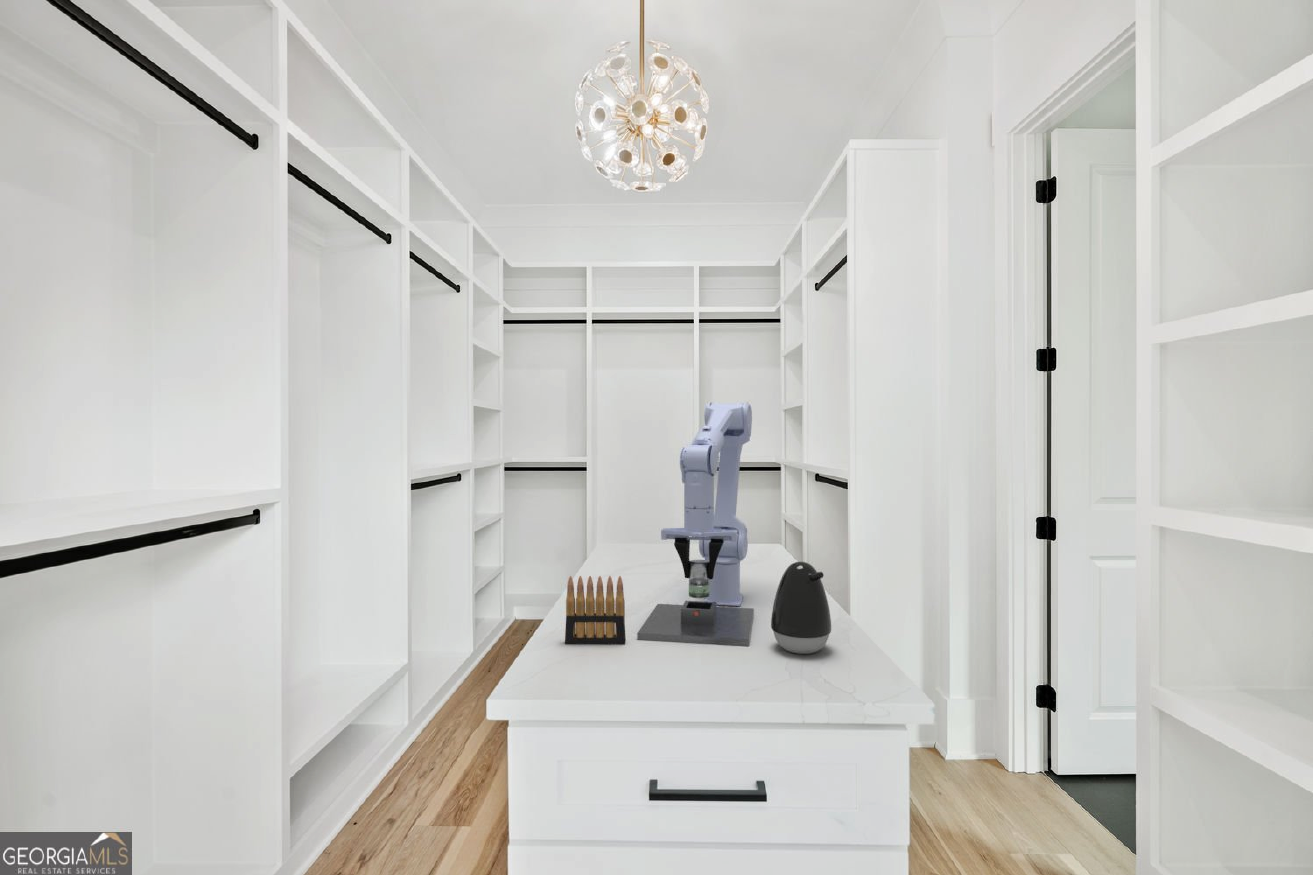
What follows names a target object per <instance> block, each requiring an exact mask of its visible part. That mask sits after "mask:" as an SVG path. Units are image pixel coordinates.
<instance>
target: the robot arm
mask: <svg viewBox="0 0 1313 875" xmlns="http://www.w3.org/2000/svg"><path fill="white" fill-rule="evenodd" d="M703 416H704V424H705V425H704V426H702V427H700V429H699V430H698V431H697V433H696V435H695V437H694V438H693V440H692V441H691V443H690V444H686V446H685V447H682V449H681V450H680V454H679V467H680V472H681V481H682V483H683V485H684V486H683V487H684V488H683V489H684V492H683V510H684V511H683V513H684V514H683V518H684V519H683V521H684V523H683V524H684V525H683V527H675V528H673V527H663V528H661V530H660V538H661V540H662V541H663V540H674V543H673V545H674V549H675V550H676V552H677V555H678V557H679V558H680V559H679V560H680V562H681V565H682V569H683V573H684V574H683V575H684V579H689V561H690V551H691V550H690V549H691V548H690V547H691V541H698V550H699V554H700V556H701V558H703V559H704V560H707V561H709V579H710V596H709V597H706V598H704V600H703V601H705V602H717V606H732V607H733V606H734V607H735V606H737V607H741V605H742V601H743V597H744V593H742V592H741V561H744V560H745V558H746V557H747V554H748V544H749V543H748V528H747V526H746V524H745V523H744V522H743V521H742V520H740V519H739V518H738V517H737V516H736V515H737V504H738V490H739V480H740V479H739V477H740V466H741V454H742V451H743V446H744V445H745V444H746V443H748V442H750V438H751V436H752V425H753V423H752V422H753V411H752V407H751V404H750V403H749V402H748V401H744V402H708V403H707V404H706V406H705V408H704V415H703ZM716 473H717V474H718V475H717V483H716V493H715V475H716ZM682 483H681V484H682ZM715 494H716V495H715Z"/></svg>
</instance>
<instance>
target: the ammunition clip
mask: <svg viewBox="0 0 1313 875" xmlns="http://www.w3.org/2000/svg"><path fill="white" fill-rule="evenodd" d="M566 588H567V589H566V590H567V591H566V600H565V630H564V631H565V633H564V635H565V637H564V644H565V645H583V646H585V645H587V646H589V645H593V646H594V645H598V646H599V645H601V646H602V645H605V646H606V645H607V646H608V645H611V646H612V645H619V646H620V645H621V646H623V645H626V641H627V640H626V621H625V620H626V619H625V617H626V613H625V612H626V611H625V610H626V609H625V606H626V604H625V596H624V582H623V578H622V576H621V575H619V576H618V579H617V582H616V593H614V583H613V579H612V577H611V575H609V576H608V579H607V582H606V593H605V594H606V595H604V583H603V579H602V577H601V575H599V576H598V578H597V582H596V596H595V593H594V592H595V591H594V582H593V577H592V576H591V575H589V576H588V579H587V584H586V598H585V592H584V591H585V587H584V582H583V577H582V575H579V577H578V580H577V586H576V597H575V585H574V580H573V577H572V576H571V575H570V576H569V578H568V581H567V587H566ZM614 594H616V595H614ZM604 596H605V597H604ZM615 596H616V597H615Z"/></svg>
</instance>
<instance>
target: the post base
mask: <svg viewBox="0 0 1313 875" xmlns="http://www.w3.org/2000/svg"><path fill="white" fill-rule="evenodd" d="M754 615H755V608H754V607H753V608H751V607H750V608H749V607H735V606H734V607H733V606H732V607H728V606H718V605H717V602H705V601H704V600H703V601H702V600H685V601H684V602H683V604H670V603H657V604H656V605H655V607H654V608H653V610H652V611H651V613H650V614H649V616H648V617H647V618H646V620H645V621H644V623H643V624H642V626H641V627H640V628H639V630H638V632H637V634H636V635H637V640H639V641H640V640H641V641H654V642H655V641H656V642H658V641H659V642H673V643H674V642H676V643H691V644H706V645H707V644H709V645H723V646H740V647H750V642H751V641H750V640H751V635H752V634H751V633H752V629H753V623H754Z"/></svg>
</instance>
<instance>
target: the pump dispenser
mask: <svg viewBox="0 0 1313 875" xmlns="http://www.w3.org/2000/svg"><path fill="white" fill-rule="evenodd" d="M783 572H784V573H782V574H783V575H782V577H781V579H780V581H779V584H778V586H777V590H776V592H775V593H776V594H775V598H774V601H773V604H772V605H773V606H772V611H771V618H770V619H771V620H770V628H771V629H772V630H771V631H773V635H774V636H773V637H774V638H775V640H776V642H777V644H778V645H779V646H780V647H781V648H783V649H784V650H786V651H788V652H789V653H792V654H798V655H811V654H813V653H816V652H818V651H820V650H822V649H823V648H824V647H825V646H826V644H827V643H828V640H829V637H830V634H831V633H832V618H831V611H830V605H829V602H828V598H827V593H826V591H825V587H824V585H823V581H822V578H824V572H823V571H817V570H816V568H815V567H814V566H813V565H812V564H810V563H808V562H806V561H795V562H793V563H791V564H789V566H788V567H787V568H786V569H785V570H784V571H783Z"/></svg>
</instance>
